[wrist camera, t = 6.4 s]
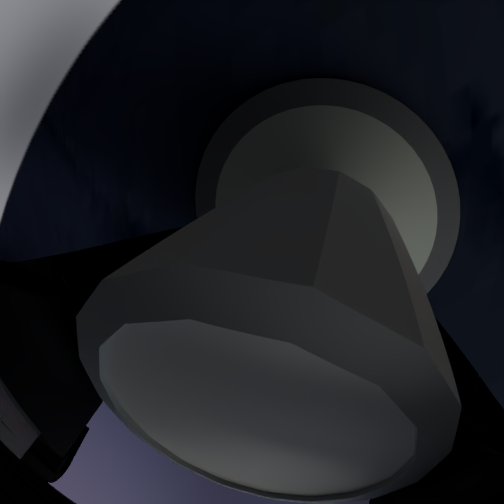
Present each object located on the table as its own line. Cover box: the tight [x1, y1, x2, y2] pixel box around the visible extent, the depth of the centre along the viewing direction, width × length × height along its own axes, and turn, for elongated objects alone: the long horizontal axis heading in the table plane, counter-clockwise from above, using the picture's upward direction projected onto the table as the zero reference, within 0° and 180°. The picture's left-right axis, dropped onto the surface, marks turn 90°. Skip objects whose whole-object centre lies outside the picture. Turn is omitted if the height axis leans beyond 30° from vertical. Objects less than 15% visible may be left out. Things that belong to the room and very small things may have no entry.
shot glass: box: [76, 167, 462, 504], centre depth 7 cm, size 7×7×7 cm
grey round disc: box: [195, 78, 460, 294], centre depth 12 cm, size 11×11×1 cm
